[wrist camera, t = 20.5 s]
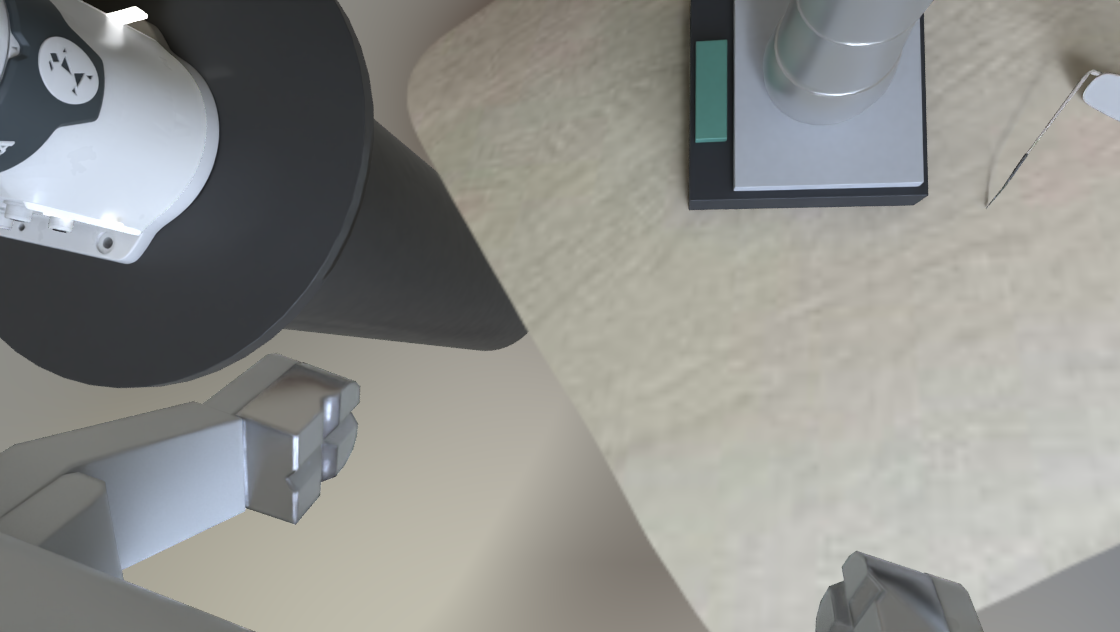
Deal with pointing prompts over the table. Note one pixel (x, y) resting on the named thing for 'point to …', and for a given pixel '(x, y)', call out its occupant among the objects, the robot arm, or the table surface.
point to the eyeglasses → (1089, 102)
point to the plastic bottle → (836, 56)
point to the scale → (794, 125)
